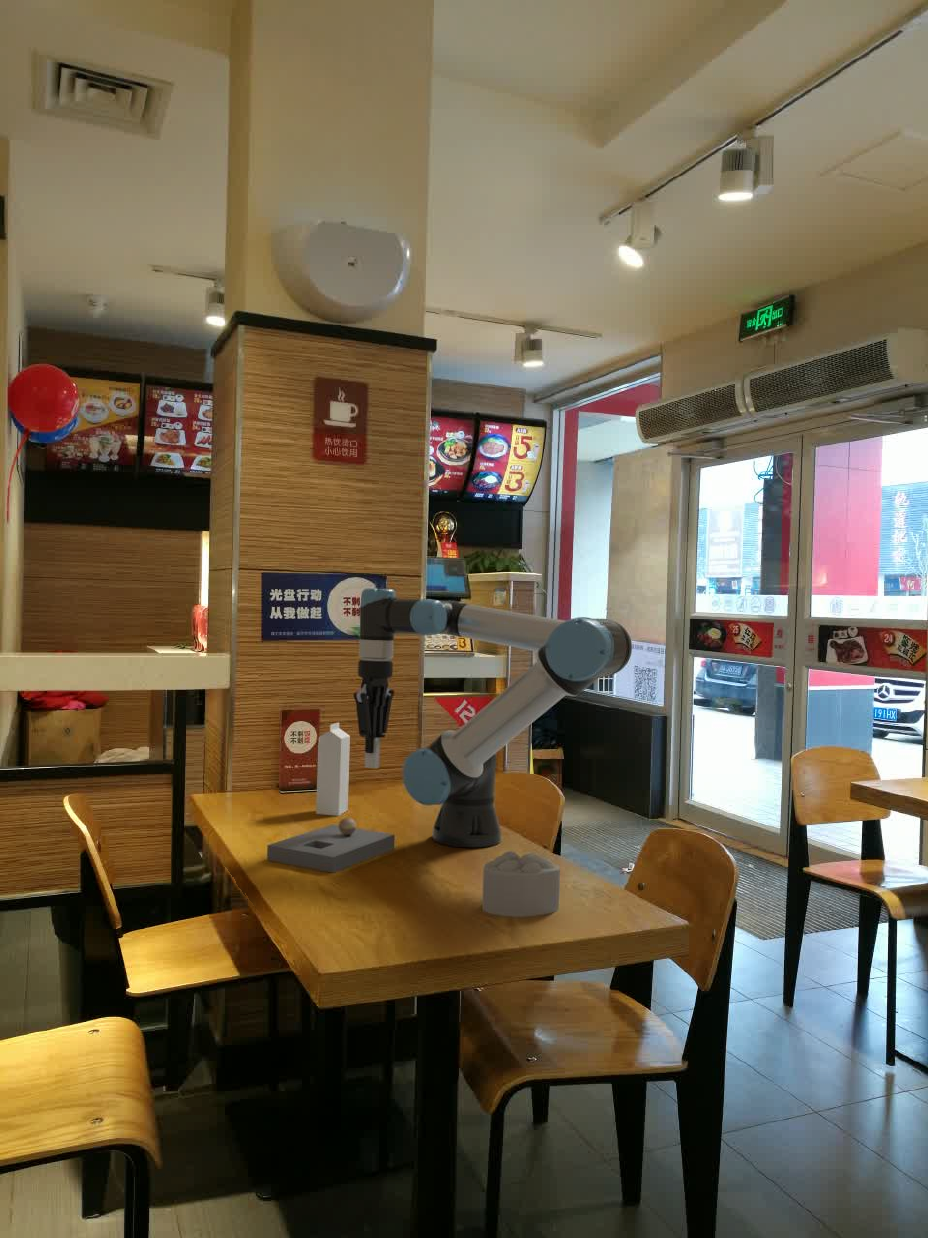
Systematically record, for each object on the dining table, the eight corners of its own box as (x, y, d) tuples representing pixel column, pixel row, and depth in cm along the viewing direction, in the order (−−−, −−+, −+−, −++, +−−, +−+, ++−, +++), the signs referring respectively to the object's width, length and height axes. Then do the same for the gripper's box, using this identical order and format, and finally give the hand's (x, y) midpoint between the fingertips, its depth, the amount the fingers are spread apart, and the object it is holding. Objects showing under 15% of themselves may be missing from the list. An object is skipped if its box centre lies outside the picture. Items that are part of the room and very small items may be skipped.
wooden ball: (359, 834, 197) (359, 817, 197) (349, 837, 193) (349, 820, 193) (344, 832, 198) (345, 815, 198) (334, 835, 195) (335, 818, 195)
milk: (315, 814, 228) (318, 724, 228) (325, 809, 234) (327, 721, 234) (339, 816, 227) (341, 725, 227) (348, 811, 233) (350, 722, 232)
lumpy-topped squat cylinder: (565, 911, 160) (567, 861, 160) (499, 921, 154) (501, 868, 154) (534, 894, 169) (535, 846, 169) (470, 902, 163) (472, 853, 163)
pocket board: (394, 848, 197) (394, 834, 197) (333, 873, 178) (333, 857, 178) (332, 838, 205) (332, 824, 205) (266, 860, 185) (267, 845, 185)
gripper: (377, 657, 211) (373, 761, 211) (344, 659, 200) (340, 769, 200) (405, 659, 208) (402, 765, 208) (373, 661, 196) (369, 773, 196)
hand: (371, 767), depth 204 cm, fingers closed
